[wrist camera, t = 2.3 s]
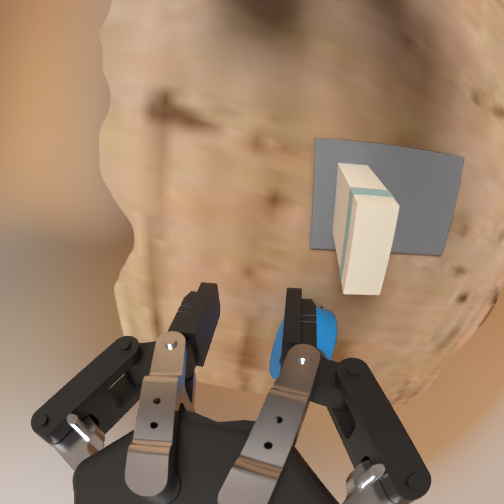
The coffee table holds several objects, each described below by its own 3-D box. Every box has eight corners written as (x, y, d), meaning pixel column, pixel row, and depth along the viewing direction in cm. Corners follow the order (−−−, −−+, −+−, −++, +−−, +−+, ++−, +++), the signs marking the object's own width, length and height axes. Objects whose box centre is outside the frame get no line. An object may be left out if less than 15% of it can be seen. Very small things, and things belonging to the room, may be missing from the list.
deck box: (331, 231, 41) (342, 294, 29) (337, 162, 36) (356, 201, 24) (359, 233, 41) (379, 295, 29) (367, 164, 35) (400, 205, 23)
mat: (309, 246, 43) (310, 248, 43) (315, 138, 35) (315, 138, 35) (440, 253, 40) (442, 255, 40) (462, 157, 32) (464, 158, 32)
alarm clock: (301, 342, 54) (298, 410, 42) (271, 333, 54) (262, 401, 42) (335, 295, 48) (342, 368, 35) (301, 283, 47) (299, 356, 34)
